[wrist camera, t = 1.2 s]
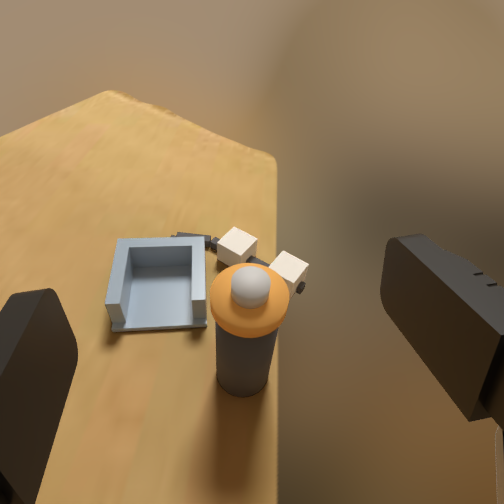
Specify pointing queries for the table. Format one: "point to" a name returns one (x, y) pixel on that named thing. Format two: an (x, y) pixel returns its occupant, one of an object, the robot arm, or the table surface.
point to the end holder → (157, 284)
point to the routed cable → (244, 251)
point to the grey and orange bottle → (246, 324)
